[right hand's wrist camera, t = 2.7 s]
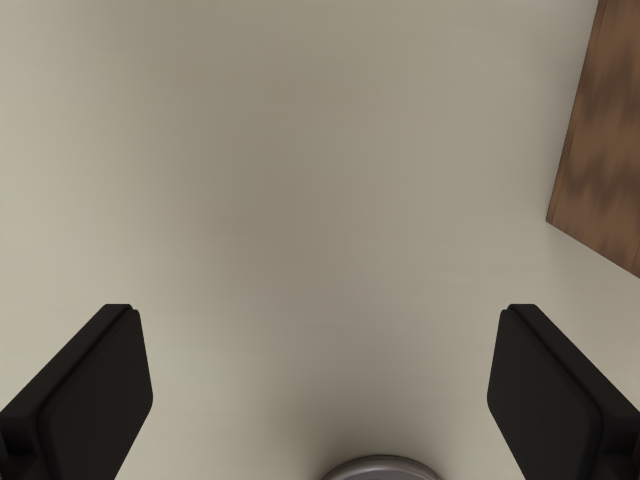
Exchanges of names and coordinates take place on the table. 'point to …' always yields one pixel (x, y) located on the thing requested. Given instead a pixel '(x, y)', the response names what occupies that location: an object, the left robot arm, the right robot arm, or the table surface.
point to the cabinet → (605, 143)
